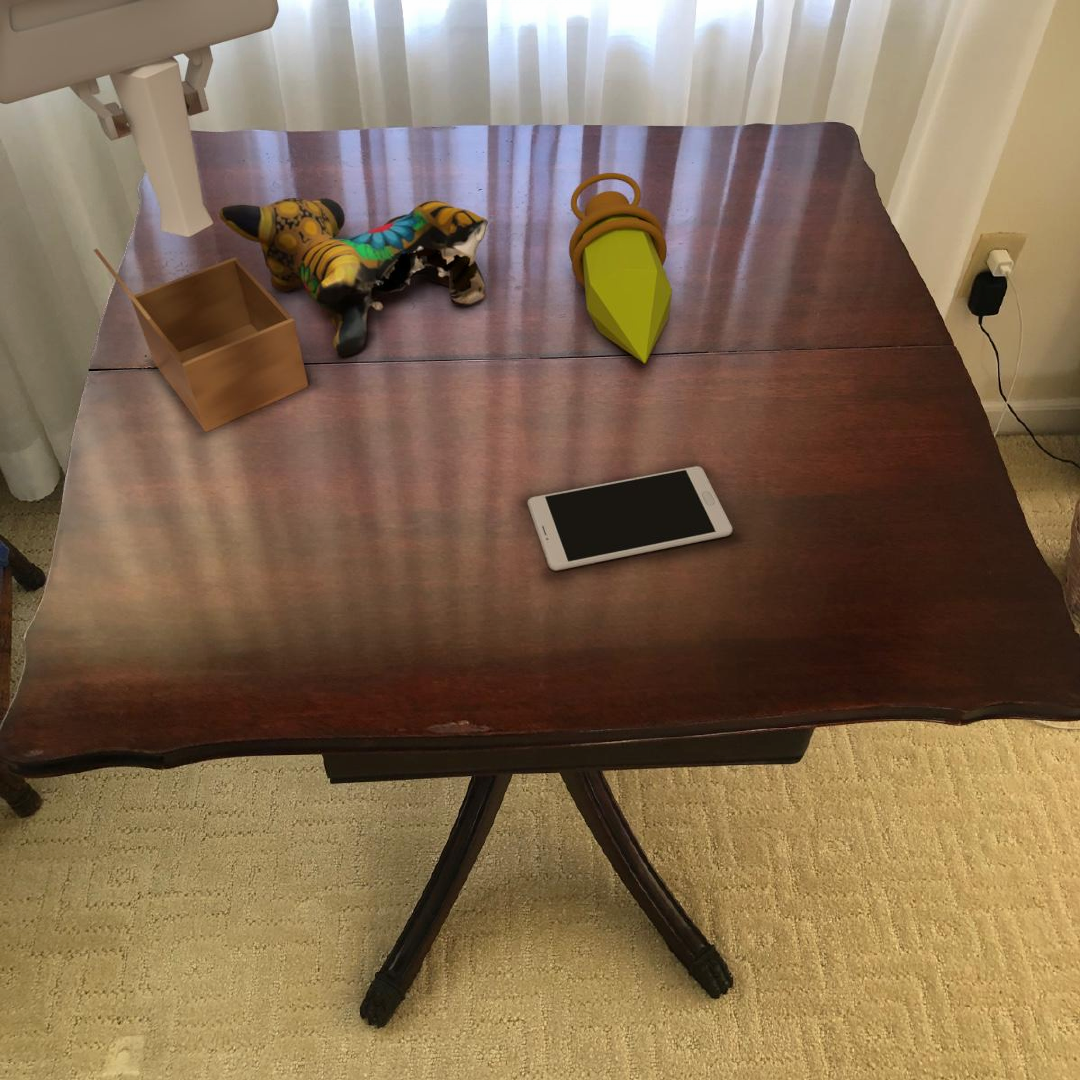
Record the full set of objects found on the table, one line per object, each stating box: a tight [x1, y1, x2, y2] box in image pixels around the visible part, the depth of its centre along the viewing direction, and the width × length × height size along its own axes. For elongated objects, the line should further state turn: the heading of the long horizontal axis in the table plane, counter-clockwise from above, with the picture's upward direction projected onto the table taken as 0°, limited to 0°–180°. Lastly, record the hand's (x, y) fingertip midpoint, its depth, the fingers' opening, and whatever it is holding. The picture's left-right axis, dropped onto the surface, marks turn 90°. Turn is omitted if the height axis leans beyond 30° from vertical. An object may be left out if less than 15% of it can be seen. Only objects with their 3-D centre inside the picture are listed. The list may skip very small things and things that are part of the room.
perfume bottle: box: [109, 56, 214, 238], centre depth 70 cm, size 5×4×15 cm
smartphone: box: [527, 465, 733, 572], centre depth 78 cm, size 8×1×15 cm
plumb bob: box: [568, 172, 673, 364], centre depth 93 cm, size 9×9×25 cm
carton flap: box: [93, 248, 182, 360], centre depth 78 cm, size 5×11×1 cm
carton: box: [130, 256, 309, 433], centre depth 86 cm, size 10×11×7 cm
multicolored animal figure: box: [218, 197, 489, 357], centre depth 93 cm, size 20×12×18 cm
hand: (156, 122), depth 70 cm, fingers closed on perfume bottle, 4 cm apart
